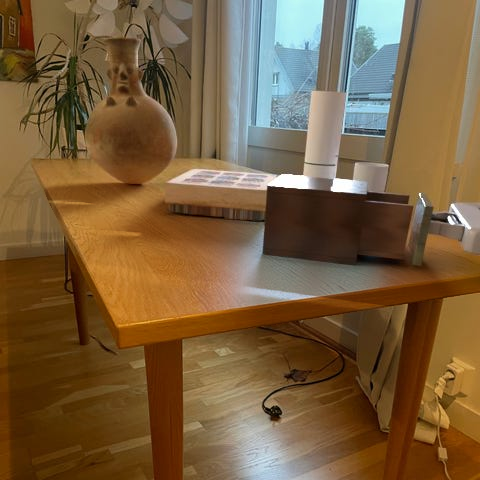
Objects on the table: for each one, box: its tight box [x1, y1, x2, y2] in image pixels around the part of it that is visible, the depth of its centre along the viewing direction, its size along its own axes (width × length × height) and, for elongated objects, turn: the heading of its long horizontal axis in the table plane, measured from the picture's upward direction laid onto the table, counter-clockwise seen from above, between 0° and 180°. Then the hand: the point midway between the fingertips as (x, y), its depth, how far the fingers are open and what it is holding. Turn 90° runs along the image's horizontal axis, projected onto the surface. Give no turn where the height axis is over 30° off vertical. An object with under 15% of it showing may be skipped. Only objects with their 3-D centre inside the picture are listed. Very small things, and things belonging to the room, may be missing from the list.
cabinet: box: [262, 174, 368, 266], centre depth 80 cm, size 15×13×11 cm
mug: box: [352, 161, 390, 193], centre depth 101 cm, size 10×7×12 cm, turn 161°
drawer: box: [357, 191, 460, 267], centre depth 77 cm, size 19×12×9 cm, turn 75°
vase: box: [84, 36, 178, 185], centre depth 125 cm, size 24×24×35 cm
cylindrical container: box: [302, 90, 347, 179], centre depth 104 cm, size 7×7×25 cm
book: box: [164, 168, 279, 222], centre depth 110 cm, size 25×6×28 cm
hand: (425, 222), depth 76 cm, fingers closed on drawer, 5 cm apart
